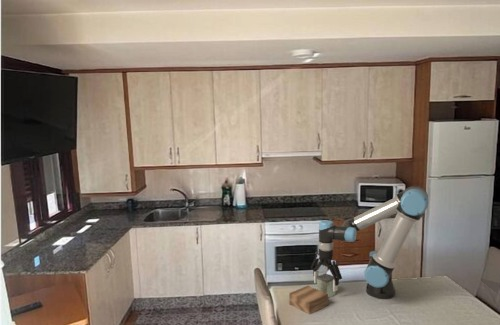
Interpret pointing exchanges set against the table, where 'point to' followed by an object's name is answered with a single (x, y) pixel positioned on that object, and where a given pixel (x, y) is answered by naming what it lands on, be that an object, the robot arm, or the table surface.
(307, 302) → the block
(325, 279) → the tea tin
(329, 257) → the robot arm
